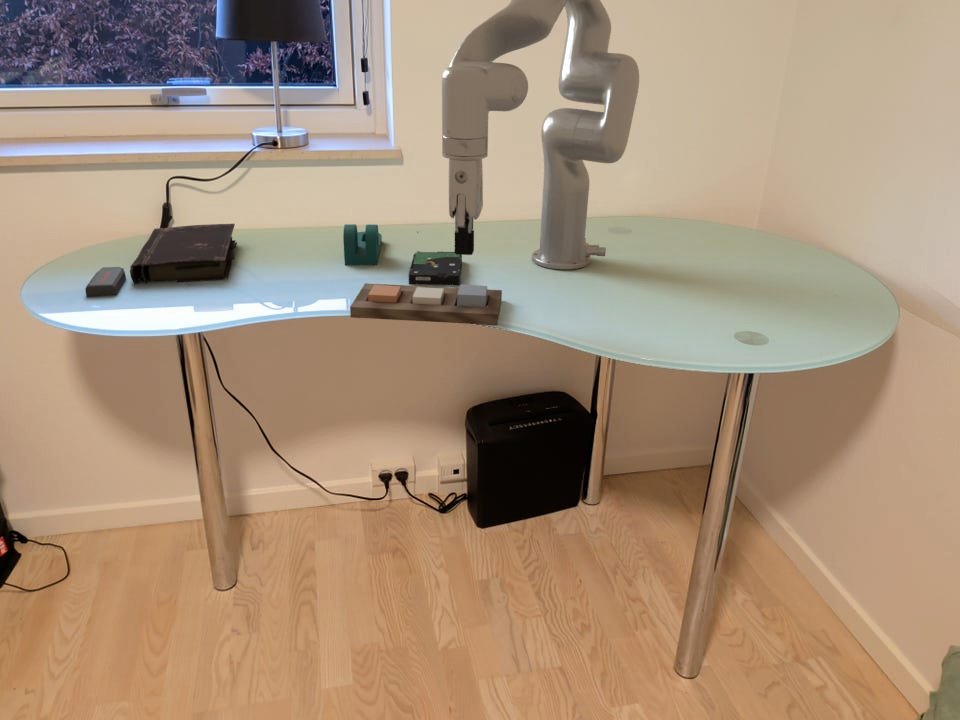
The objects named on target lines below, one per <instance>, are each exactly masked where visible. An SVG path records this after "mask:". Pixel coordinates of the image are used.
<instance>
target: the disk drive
mask: <svg viewBox="0 0 960 720" xmlns="http://www.w3.org/2000/svg"><path fill="white" fill-rule="evenodd" d="M412 256H413V257H412V261H411V263H410V268H409V271H408V284H409V285H417V286H460V285H461V274H462V266H463V261H462V260H463V255H460V254H455V251H435V252H434V251H430V252H429V251H419V250H417V251H416V252H414V254H413V255H412Z"/></svg>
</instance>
